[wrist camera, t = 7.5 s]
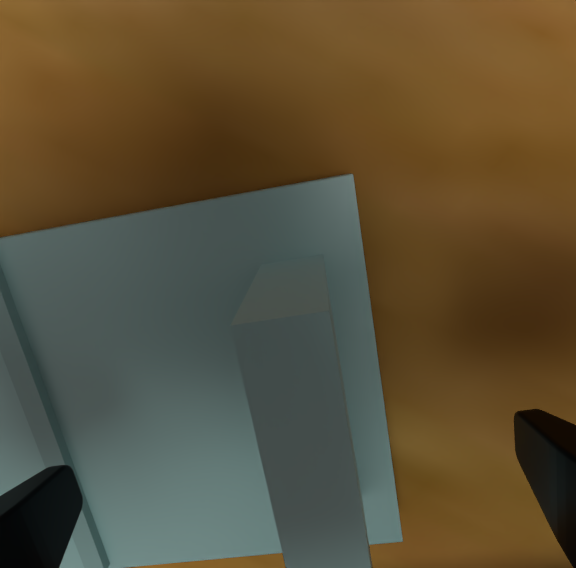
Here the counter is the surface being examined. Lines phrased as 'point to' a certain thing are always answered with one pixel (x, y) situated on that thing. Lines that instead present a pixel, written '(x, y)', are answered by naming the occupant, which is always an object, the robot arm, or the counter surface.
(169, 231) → the lid
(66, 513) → the robot arm
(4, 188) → the counter surface
